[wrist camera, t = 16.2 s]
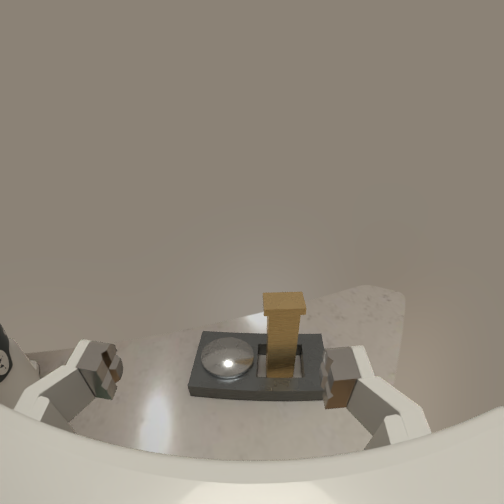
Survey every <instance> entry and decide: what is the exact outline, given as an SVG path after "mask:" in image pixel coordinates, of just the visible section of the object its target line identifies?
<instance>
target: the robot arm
mask: <svg viewBox="0 0 504 504" xmlns="http://www.w3.org/2000/svg"><path fill="white" fill-rule="evenodd" d="M116 352H117V349H116V347H115V345H114V344H110V343H103V342H97V341H89V340H83V339H82V340H81V341H79V343H78V345H77V346H76V348H75V350H74V351H73V353H72V355H71V357H70V358H69V360H68V362H67V364H66V365H65V366H64V365H62V366H61V367H59V368H57V369H56V370H54V371H53V372H51V373H50V374H48V375H46V376H45V377H43V378H42V379H41V378H40V376H39V365H38V364H37V362H36V361H34V360H29V359H28V358H27V356H26V355H25V354H24V352H23V351H22V349H21V348H20V346H19V345H18V343H17V342H16V341H15V340H14V339H13V338H12V339H11V338H8V337H7V335H6V333H5V330H4V328H3V327H2V325H1V324H0V504H504V407H502V406H501V407H497V408H495V409H492V410H490V411H488V412H486V413H484V414H481V415H479V416H477V417H474V418H472V419H469V420H467V421H464V422H462V423H460V424H457V425H454V426H451V427H448V428H445V429H443V430H440V431H437V432H434V433H431V430H430V428H429V425H428V423H427V420H426V418H425V415H424V413H423V410H422V408H421V407H420V406H419V405H417V404H416V403H415V402H413V401H412V400H411V399H409V398H408V397H406V396H405V395H404V394H402V393H401V392H399V391H398V390H397V389H396V388H394V387H393V386H392V385H390V384H389V383H388V382H386V381H385V380H383V379H382V378H381V377H379V376H375V374H374V371H373V369H372V366H371V363H370V361H369V358H368V356H367V353H366V351H365V348H364V346H362V345H361V346H351V347H339V348H328V349H324V351H323V355H322V357H323V362H322V363H321V364H320V369H319V379H320V385H321V387H322V388H323V389H324V391H323V395H322V396H323V401H324V406H325V409H333V408H344V407H347V410H348V411H349V412H350V413H351V414H352V415H353V416H354V417H355V418H356V419H357V420H358V421H359V422H360V423H361V424H362V425H363V426H364V427H365V428H366V429H367V430H368V431H369V432H370V434H371V435H372V436H373V437H372V438H371V440H370V441H369V443H368V444H367V446H366V447H365V448H364V450H363V451H357V452H351V453H345V454H339V455H331V456H323V457H314V458H303V459H289V460H261V461H245V460H217V459H203V458H192V457H183V456H175V455H167V454H160V453H154V452H148V451H143V450H138V449H133V448H128V447H123V446H119V445H114V444H110V443H106V442H102V441H99V440H95V439H91V438H88V437H84V436H81V435H78V434H75V430H74V429H73V428H72V427H71V426H70V424H69V423H68V422H70V421H71V420H72V419H73V418H74V417H75V416H76V415H77V414H78V413H79V412H81V411H82V410H83V409H84V408H85V407H86V406H87V405H88V404H89V403H90V402H91V401H93V400H94V399H95V397H99V398H104V399H110V400H113V397H114V395H115V392H116V390H117V386H116V382H118V381H119V380H120V379H121V377H122V373H123V364H122V361H121V358H120V357H118V356H117V355H116Z"/></svg>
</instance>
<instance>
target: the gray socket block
mask: <svg viewBox="0 0 504 504" xmlns="http://www.w3.org/2000/svg"><path fill="white" fill-rule="evenodd" d="M266 344H267V334H255V333H228V332H209V331H203V332H202V336H201V339H200V343H199V347H198V350H197V354H196V358H195V361H194V365H193V369H192V372H191V376H190V380H189V383H188V388H189V392H190V395H191V396H199V397H209V398H221V399H236V400H259V401H308V400H323V396H322V395H323V391H324V389H323V388H322V387H321V385H320V379H319V369H320V364H321V363H322V362H323V357H322V355H323V351H324V347H323V341H322V335H321V334H298V340H297V348H296V355H300V357H301V369H302V378H265V377H257V366H258V354H262V355H266Z"/></svg>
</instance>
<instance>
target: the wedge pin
mask: <svg viewBox="0 0 504 504" xmlns="http://www.w3.org/2000/svg"><path fill="white" fill-rule="evenodd" d="M263 307H264V316H267V344H266V374H267V378H290V377H293V372H294V364H295V356H296V348H297V340H298V332H299V323H300V315H306V305H305V301H304V297H303V294H302V292H280V293H263Z"/></svg>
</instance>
